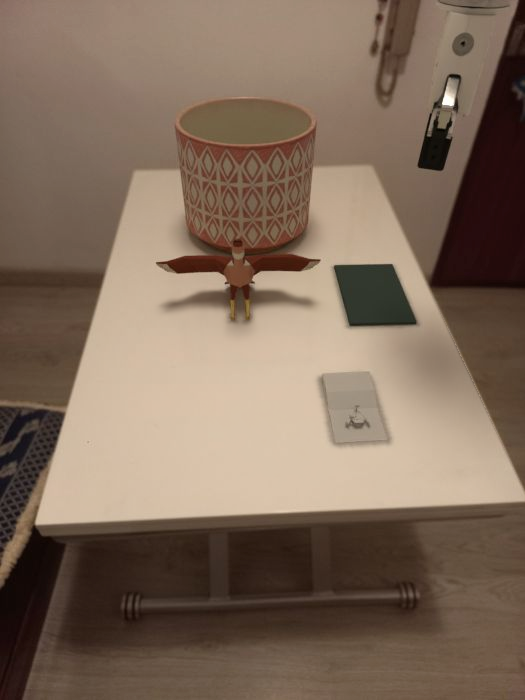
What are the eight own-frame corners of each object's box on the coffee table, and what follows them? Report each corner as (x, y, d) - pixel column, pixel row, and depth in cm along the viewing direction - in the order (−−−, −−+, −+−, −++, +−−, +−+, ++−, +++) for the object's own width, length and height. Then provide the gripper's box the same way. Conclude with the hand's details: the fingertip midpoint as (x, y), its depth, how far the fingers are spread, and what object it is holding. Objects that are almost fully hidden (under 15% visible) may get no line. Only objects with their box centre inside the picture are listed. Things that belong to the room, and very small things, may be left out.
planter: (297, 269, 94) (306, 152, 78) (170, 253, 98) (152, 138, 82) (314, 206, 113) (324, 101, 97) (207, 194, 117) (199, 91, 101)
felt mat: (391, 266, 95) (392, 263, 95) (416, 324, 83) (417, 321, 82) (334, 267, 95) (334, 264, 95) (349, 325, 82) (350, 323, 82)
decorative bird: (152, 334, 75) (143, 240, 69) (169, 303, 92) (162, 225, 86) (326, 330, 76) (330, 237, 70) (310, 300, 93) (313, 223, 87)
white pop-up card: (367, 376, 74) (370, 365, 72) (387, 439, 65) (391, 429, 63) (321, 378, 73) (323, 368, 72) (335, 442, 65) (337, 432, 63)
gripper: (517, 7, 42) (460, 186, 55) (510, -18, 54) (464, 134, 66) (433, 2, 44) (395, 176, 56) (443, -21, 56) (410, 128, 68)
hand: (432, 153), depth 61 cm, fingers open, 9 cm apart
